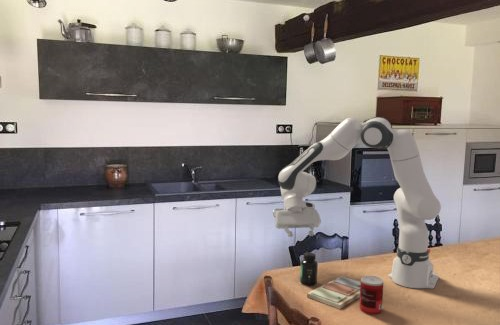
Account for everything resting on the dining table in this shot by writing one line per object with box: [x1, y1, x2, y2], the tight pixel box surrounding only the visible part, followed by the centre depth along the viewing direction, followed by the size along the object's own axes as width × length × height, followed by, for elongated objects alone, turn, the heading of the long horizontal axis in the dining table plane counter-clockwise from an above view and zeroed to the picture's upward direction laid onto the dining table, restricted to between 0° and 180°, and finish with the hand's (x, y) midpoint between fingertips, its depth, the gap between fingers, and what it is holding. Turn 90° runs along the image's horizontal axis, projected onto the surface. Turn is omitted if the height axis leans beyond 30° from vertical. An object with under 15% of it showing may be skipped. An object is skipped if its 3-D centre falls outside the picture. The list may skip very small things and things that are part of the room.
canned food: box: [359, 275, 384, 315], centre depth 151 cm, size 8×8×11 cm
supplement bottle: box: [299, 252, 319, 287], centre depth 174 cm, size 7×7×12 cm
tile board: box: [306, 276, 361, 310], centre depth 165 cm, size 24×14×2 cm, turn 138°
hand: (301, 235), depth 184 cm, fingers open, 8 cm apart
